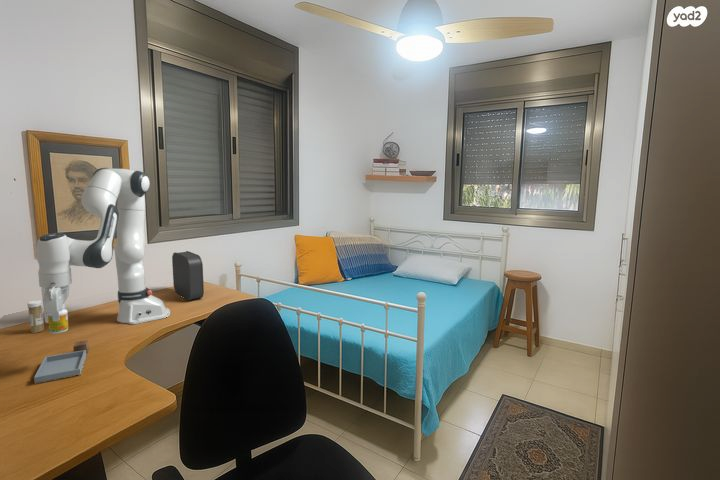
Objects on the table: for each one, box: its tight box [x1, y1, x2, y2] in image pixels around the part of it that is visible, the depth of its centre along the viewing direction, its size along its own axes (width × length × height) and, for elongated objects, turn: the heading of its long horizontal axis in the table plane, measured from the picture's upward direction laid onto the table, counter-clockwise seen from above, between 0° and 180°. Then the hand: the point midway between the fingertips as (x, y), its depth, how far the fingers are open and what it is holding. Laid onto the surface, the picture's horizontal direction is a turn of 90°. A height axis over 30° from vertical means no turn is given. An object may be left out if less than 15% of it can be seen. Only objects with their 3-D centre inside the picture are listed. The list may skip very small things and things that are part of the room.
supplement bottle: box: [47, 303, 69, 335], centre depth 131 cm, size 5×5×10 cm
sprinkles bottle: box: [27, 299, 45, 334], centre depth 159 cm, size 5×5×14 cm
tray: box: [33, 350, 88, 384], centre depth 130 cm, size 12×16×2 cm
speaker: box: [171, 250, 205, 301], centre depth 211 cm, size 25×9×25 cm, turn 46°
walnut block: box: [72, 340, 89, 355], centre depth 142 cm, size 4×4×4 cm
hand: (58, 317), depth 131 cm, fingers closed on supplement bottle, 5 cm apart
